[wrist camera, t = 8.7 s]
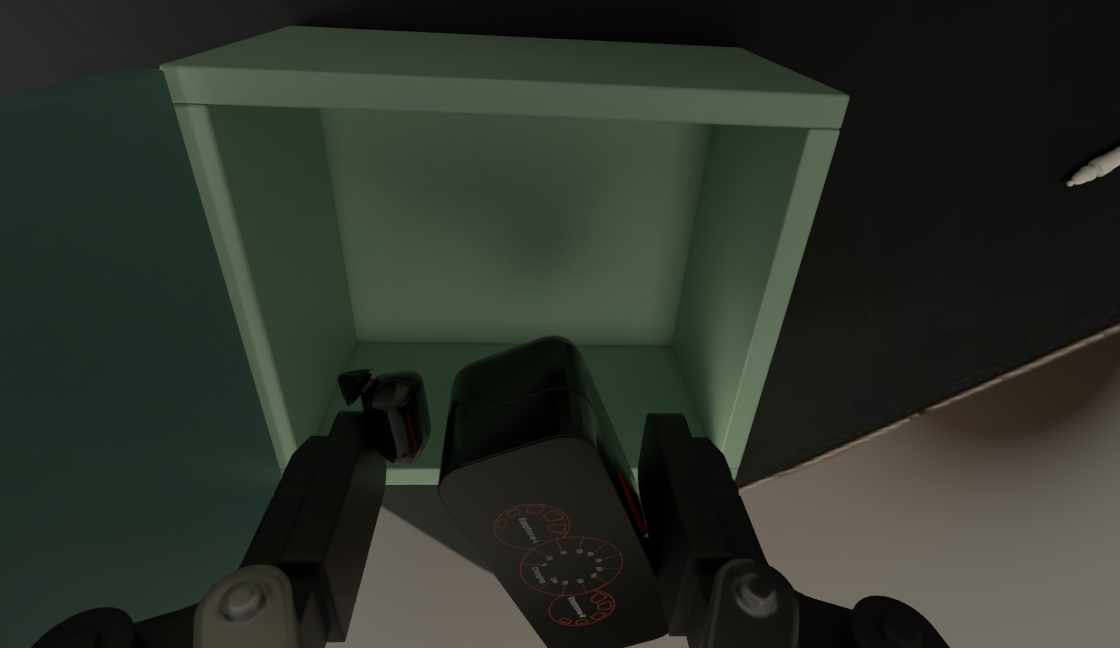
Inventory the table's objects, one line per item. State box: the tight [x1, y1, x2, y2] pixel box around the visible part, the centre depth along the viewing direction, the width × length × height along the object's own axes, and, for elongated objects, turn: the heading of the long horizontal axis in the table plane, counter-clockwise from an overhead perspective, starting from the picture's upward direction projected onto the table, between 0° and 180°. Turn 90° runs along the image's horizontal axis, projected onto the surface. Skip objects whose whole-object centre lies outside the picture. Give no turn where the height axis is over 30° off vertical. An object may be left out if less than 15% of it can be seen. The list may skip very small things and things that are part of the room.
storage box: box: [160, 26, 849, 485], centre depth 20 cm, size 16×13×8 cm
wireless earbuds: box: [337, 335, 669, 648], centre depth 12 cm, size 5×7×3 cm, turn 20°
